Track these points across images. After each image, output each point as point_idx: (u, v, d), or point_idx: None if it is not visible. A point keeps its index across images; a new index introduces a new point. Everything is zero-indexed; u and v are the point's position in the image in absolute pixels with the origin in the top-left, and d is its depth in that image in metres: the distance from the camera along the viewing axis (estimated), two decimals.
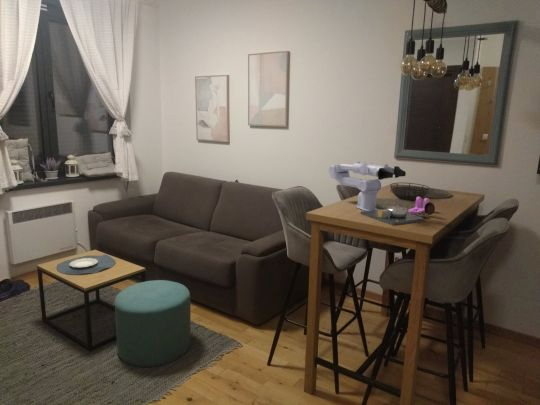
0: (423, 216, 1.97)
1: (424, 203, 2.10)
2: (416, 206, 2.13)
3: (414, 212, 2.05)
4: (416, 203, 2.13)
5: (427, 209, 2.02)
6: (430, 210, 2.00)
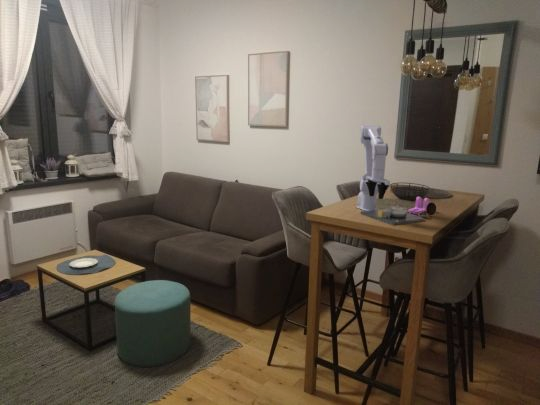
0: (424, 216, 1.97)
1: (424, 203, 2.10)
2: (416, 206, 2.13)
3: (414, 212, 2.05)
4: (416, 203, 2.13)
5: (429, 209, 2.01)
6: (432, 210, 1.99)
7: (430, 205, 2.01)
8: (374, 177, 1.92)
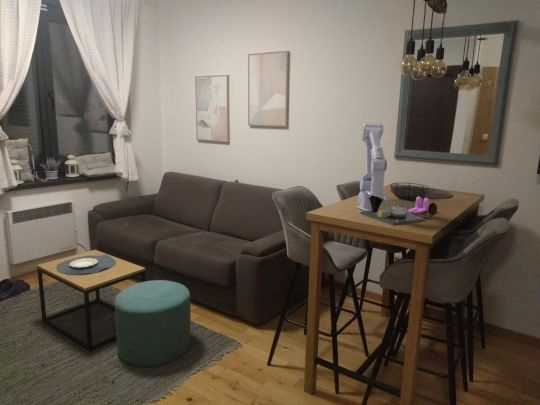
0: (424, 216, 1.97)
1: (424, 203, 2.10)
2: (416, 206, 2.14)
3: (414, 212, 2.05)
4: (416, 203, 2.13)
5: (431, 210, 2.01)
6: (433, 211, 1.99)
7: (432, 205, 2.00)
8: (373, 192, 1.94)
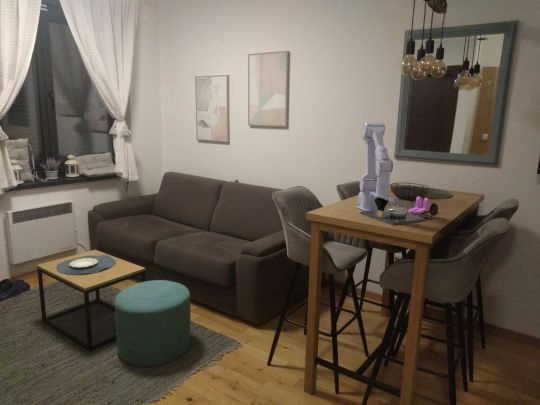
0: (424, 216, 1.96)
1: (424, 203, 2.10)
2: (416, 206, 2.14)
3: (414, 212, 2.05)
4: (416, 203, 2.13)
5: (432, 210, 2.00)
6: (434, 211, 1.98)
7: (433, 206, 2.00)
8: (378, 194, 1.90)
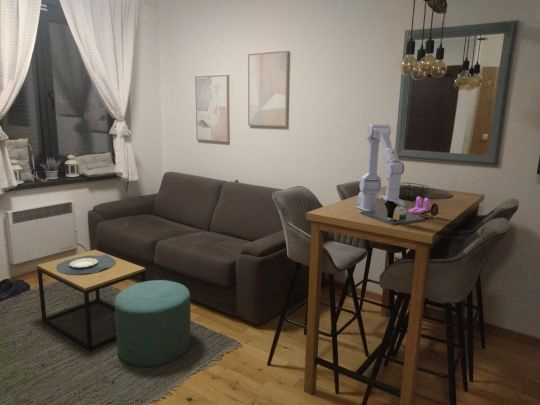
0: (425, 217, 1.96)
1: (424, 203, 2.10)
2: (416, 206, 2.14)
3: (414, 212, 2.06)
4: (416, 203, 2.13)
5: (433, 210, 2.00)
6: (435, 211, 1.98)
7: (434, 206, 1.99)
8: (388, 197, 1.85)
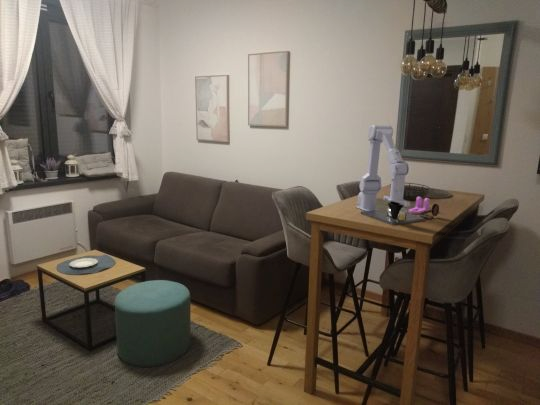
0: (425, 217, 1.96)
1: (424, 203, 2.10)
2: (416, 206, 2.14)
3: (414, 212, 2.06)
4: (416, 203, 2.13)
5: (434, 210, 1.99)
6: (435, 212, 1.97)
7: (435, 206, 1.99)
8: (393, 198, 1.82)
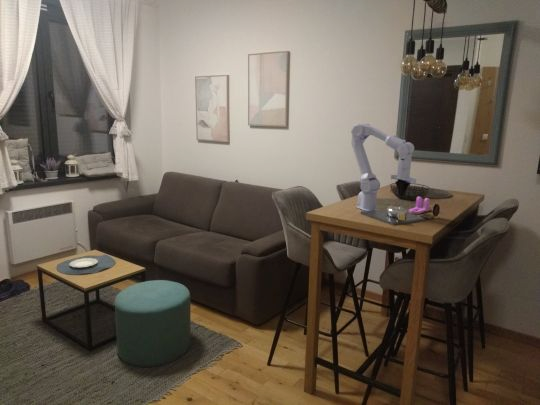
0: (425, 217, 1.96)
1: (424, 203, 2.10)
2: (416, 206, 2.14)
3: (414, 212, 2.06)
4: (416, 203, 2.13)
5: (435, 211, 1.99)
6: (436, 212, 1.97)
7: (436, 206, 1.98)
8: (400, 176, 1.95)
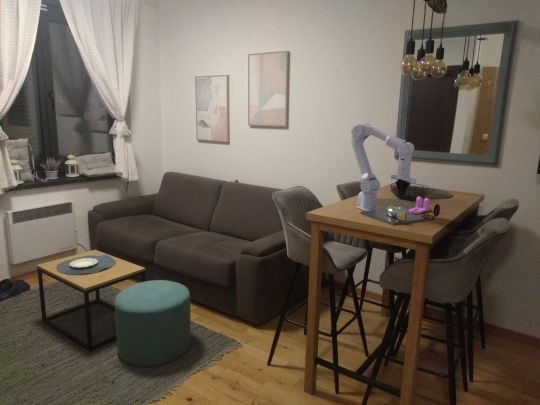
0: (425, 217, 1.96)
1: (425, 203, 2.10)
2: (417, 206, 2.14)
3: (414, 212, 2.06)
4: (417, 203, 2.14)
5: (435, 211, 1.98)
6: (437, 212, 1.96)
7: (436, 207, 1.98)
8: (400, 176, 1.95)
